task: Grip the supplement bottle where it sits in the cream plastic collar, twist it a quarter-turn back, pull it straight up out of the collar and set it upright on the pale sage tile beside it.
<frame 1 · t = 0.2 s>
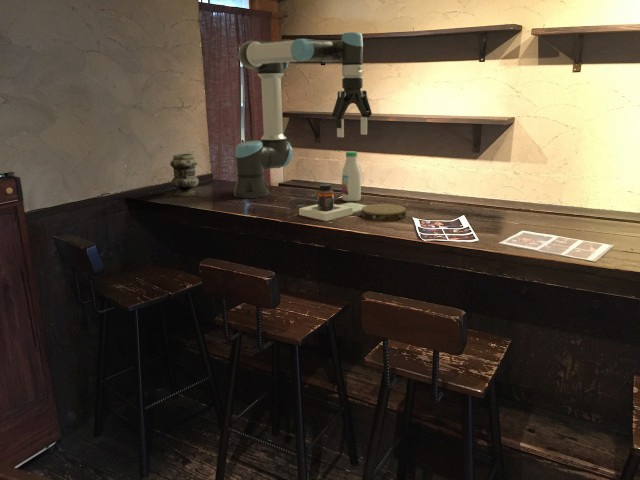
hand: (352, 135, 201), 28 cm above the table, fingers open, 13 cm apart
collar: (325, 214, 197), on the table
apothecary jar: (186, 194, 240), on the table
supplement bottle: (325, 215, 197), resting in collar
milk bottle: (351, 200, 222), on the table
tile: (351, 208, 206), on the table
tambourine: (383, 217, 194), on the table
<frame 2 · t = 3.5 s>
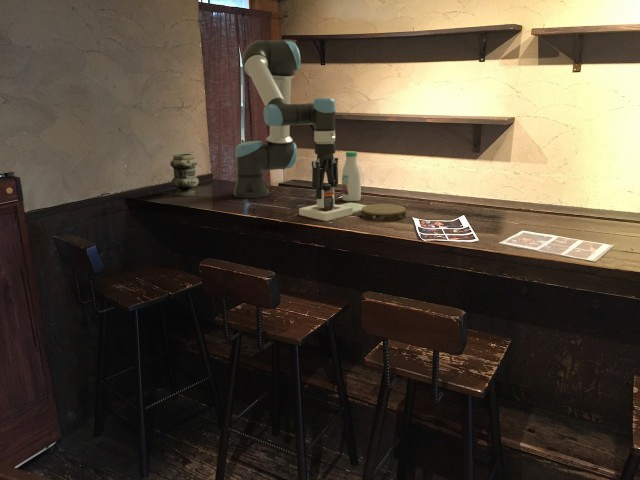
hand: (325, 205, 196), 3 cm above the table, fingers closed on supplement bottle, 6 cm apart
supplement bottle: (325, 215, 197), resting in collar, touching gripper
everything else where it was.
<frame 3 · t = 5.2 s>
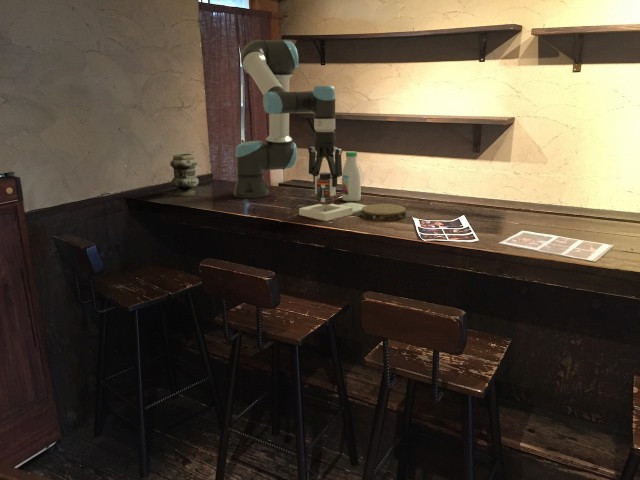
hand: (325, 194, 195), 8 cm above the table, fingers closed on supplement bottle, 6 cm apart
supplement bottle: (325, 204, 196), point 4 cm above the table, touching gripper
everything else where it was.
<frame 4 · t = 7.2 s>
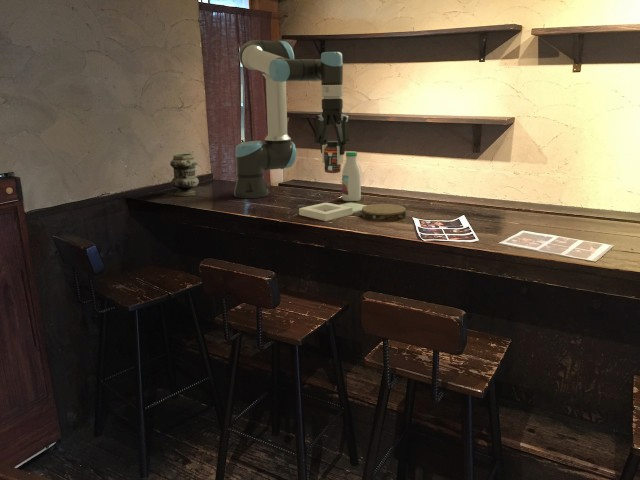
hand: (332, 163, 194), 19 cm above the table, fingers closed on supplement bottle, 6 cm apart
supplement bottle: (332, 172, 195), point 15 cm above the table, touching gripper
everything else where it was.
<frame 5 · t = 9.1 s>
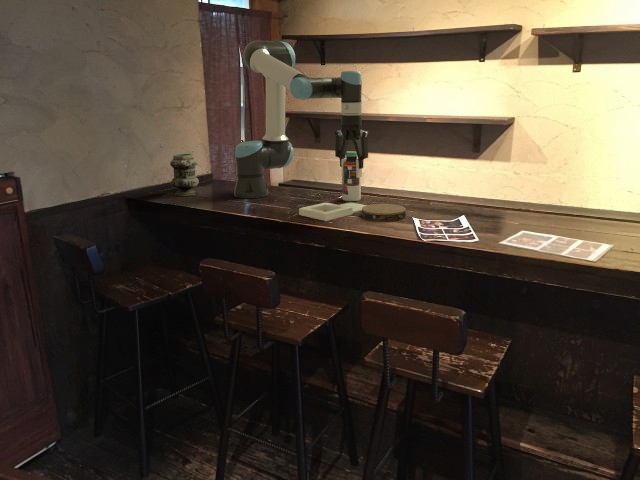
hand: (351, 176, 203), 13 cm above the table, fingers closed on supplement bottle, 6 cm apart
supplement bottle: (351, 185, 204), point 9 cm above the table, touching gripper
everything else where it was.
when the fingers open (5 cm above the table, at t = 10.8 s): supplement bottle stays where it is, resting on tile.
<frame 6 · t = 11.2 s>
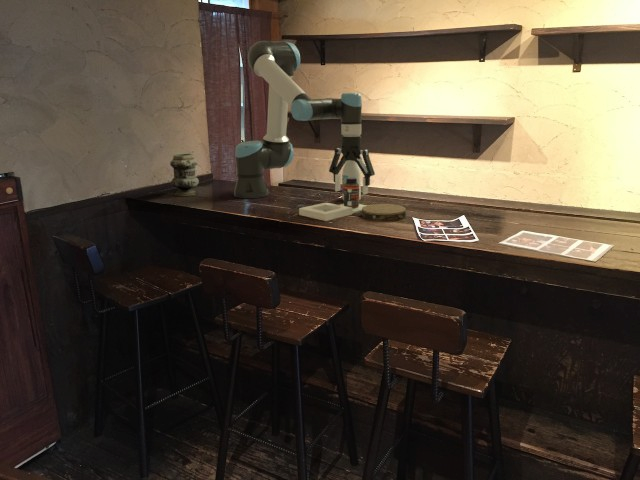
hand: (351, 192, 204), 6 cm above the table, fingers open, 12 cm apart
supplement bottle: (351, 207, 206), resting on tile
everything else where it was.
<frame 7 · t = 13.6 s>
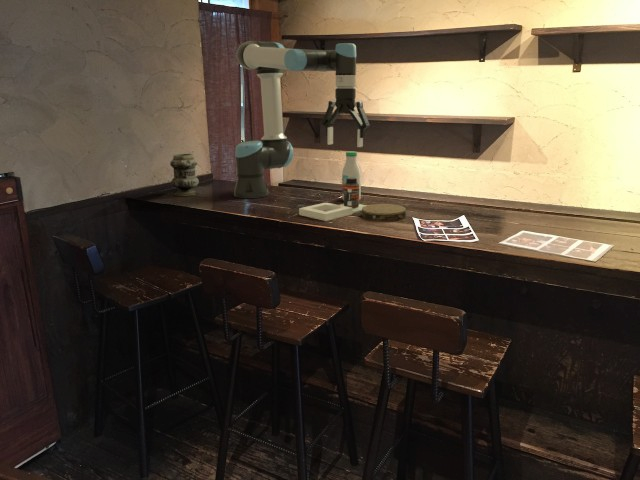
hand: (344, 145, 202), 24 cm above the table, fingers open, 13 cm apart
nothing on the table moved.
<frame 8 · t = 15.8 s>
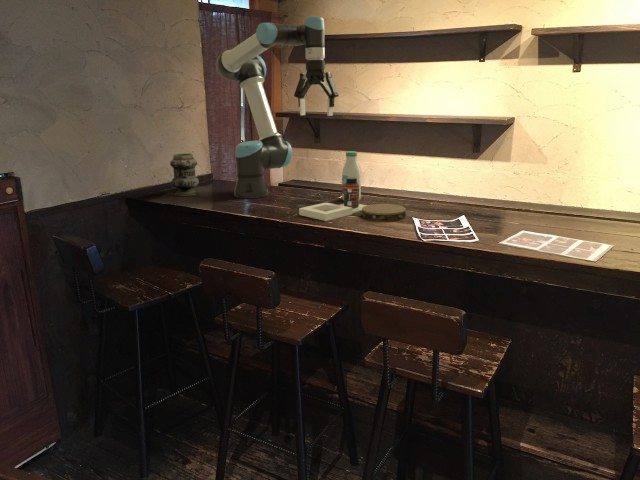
hand: (316, 115, 212), 35 cm above the table, fingers open, 13 cm apart
nothing on the table moved.
at the end: supplement bottle inside the target area on the tile (0.0 cm from its centre), point 0.4 cm above the tile's base; supplement bottle tilted 0°; the gripper is holding nothing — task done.
